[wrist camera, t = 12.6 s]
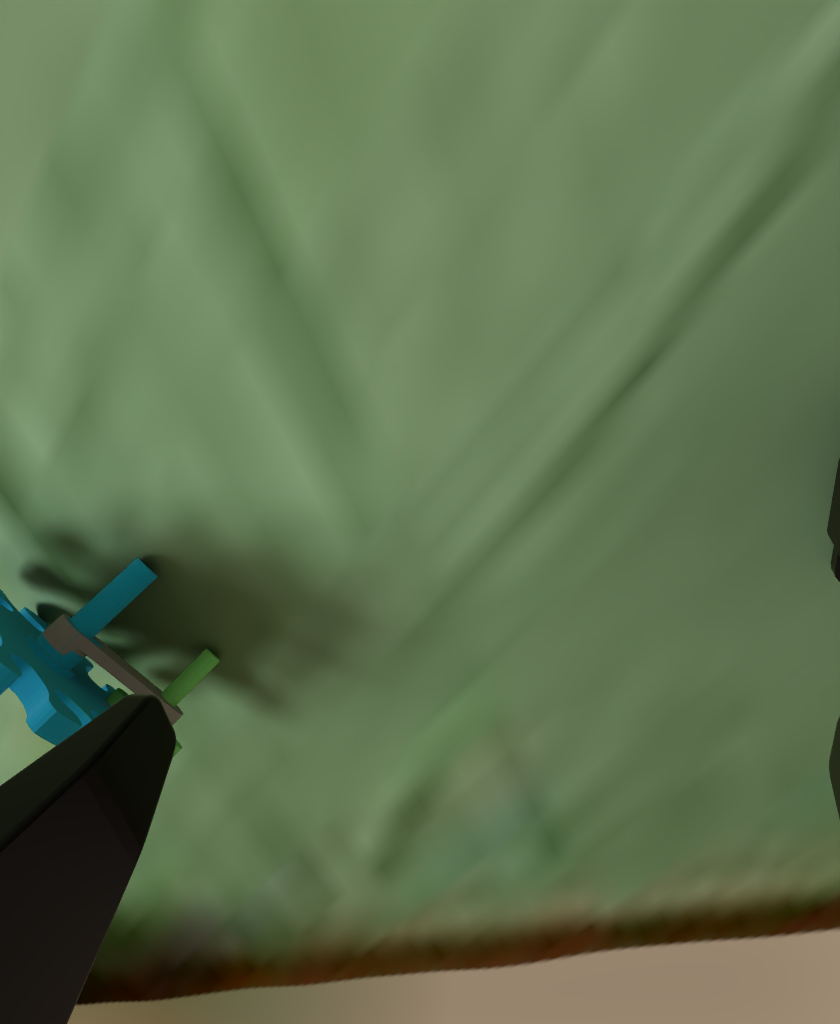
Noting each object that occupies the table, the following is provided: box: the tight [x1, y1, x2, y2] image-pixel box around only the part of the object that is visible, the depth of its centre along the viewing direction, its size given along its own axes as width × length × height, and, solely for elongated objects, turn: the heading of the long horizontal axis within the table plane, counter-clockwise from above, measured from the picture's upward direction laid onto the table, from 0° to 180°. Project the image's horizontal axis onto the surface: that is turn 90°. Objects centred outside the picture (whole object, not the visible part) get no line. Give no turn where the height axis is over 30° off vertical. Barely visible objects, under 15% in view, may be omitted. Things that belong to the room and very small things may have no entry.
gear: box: [0, 558, 220, 757], centre depth 26 cm, size 11×6×10 cm
